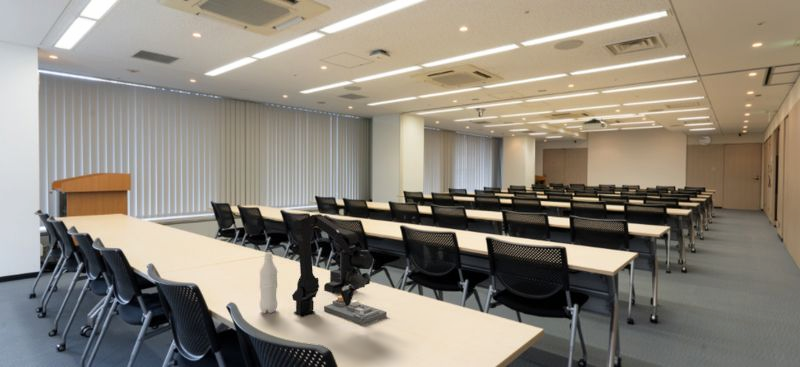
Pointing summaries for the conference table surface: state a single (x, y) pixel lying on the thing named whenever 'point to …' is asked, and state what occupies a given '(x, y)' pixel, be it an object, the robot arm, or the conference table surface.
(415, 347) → the conference table surface
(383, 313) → the control panel
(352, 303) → the white button
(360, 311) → the block
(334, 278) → the small box
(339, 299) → the orange button
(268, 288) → the water bottle
